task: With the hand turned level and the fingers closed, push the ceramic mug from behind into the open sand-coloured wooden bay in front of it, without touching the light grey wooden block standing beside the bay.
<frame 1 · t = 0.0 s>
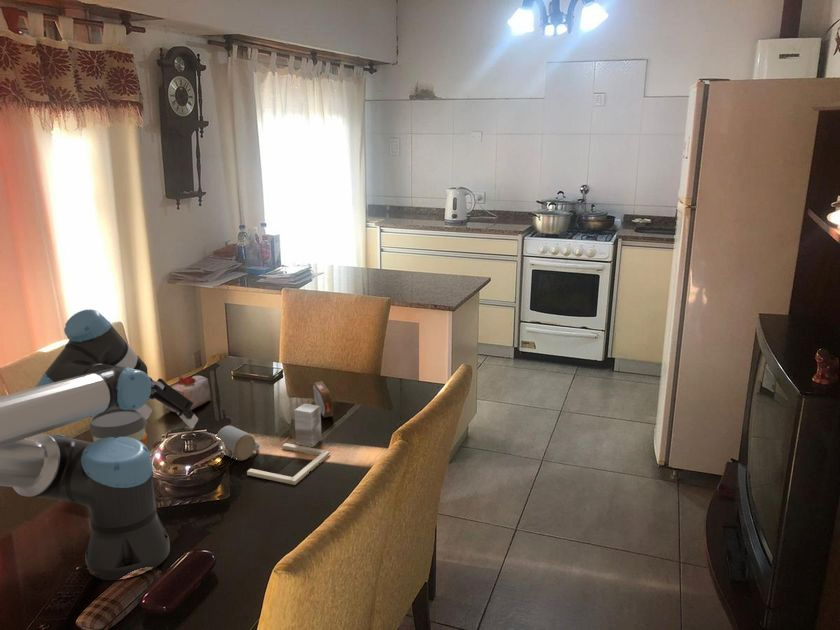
hand: (171, 419, 158), 15 cm above the table, tool tilted 35°, fingers open, 13 cm apart
reusable coffee cup: (124, 474, 164), on the table
tin: (323, 412, 202), on the table
grey block: (308, 442, 181), on the table
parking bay: (285, 463, 169), on the table
ceramic mug: (239, 455, 175), on the table
food item: (189, 408, 205), on the table
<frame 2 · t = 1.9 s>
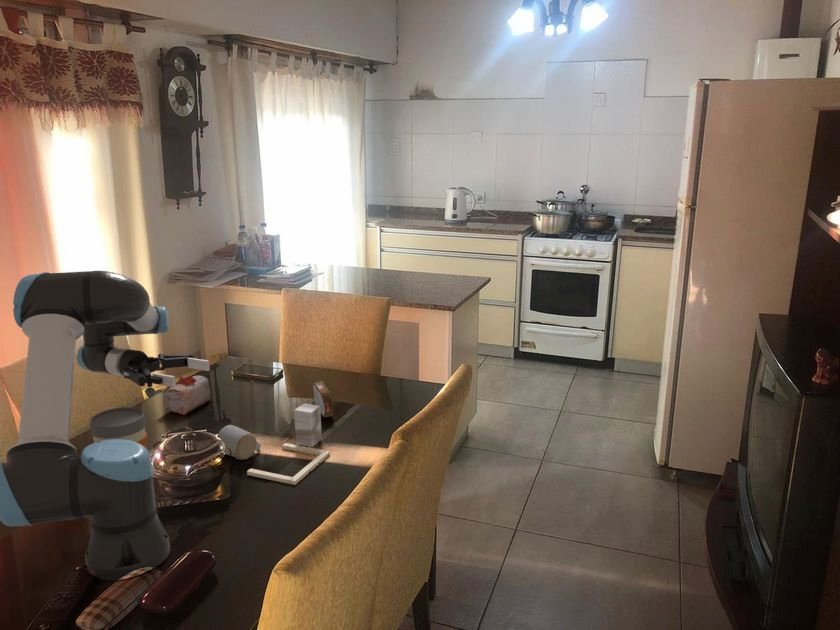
hand: (191, 373, 174), 21 cm above the table, tool horizontal, fingers open, 12 cm apart
nothing on the table moved.
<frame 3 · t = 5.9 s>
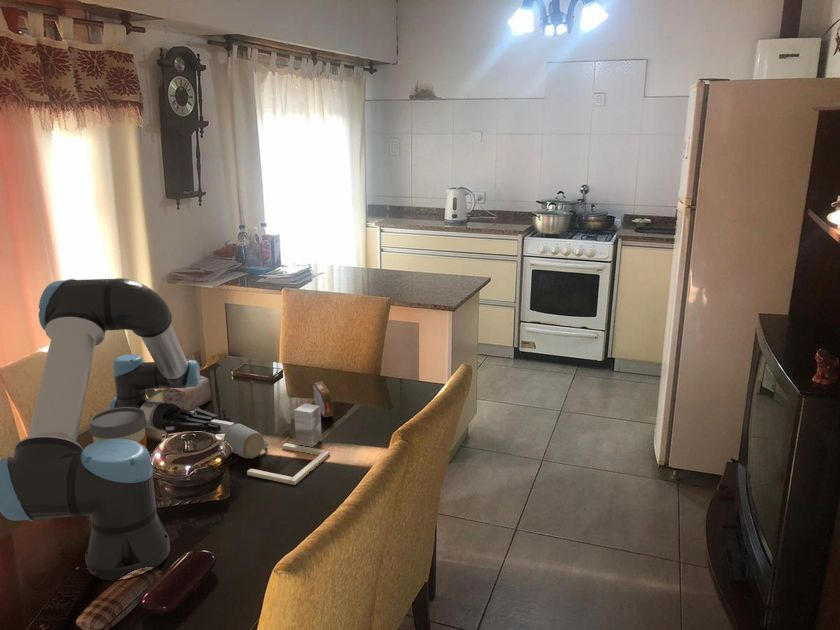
hand: (232, 428, 175), 6 cm above the table, tool horizontal, fingers closed
ceramic mug: (248, 453, 175), on the table, touching gripper
everything else where it was.
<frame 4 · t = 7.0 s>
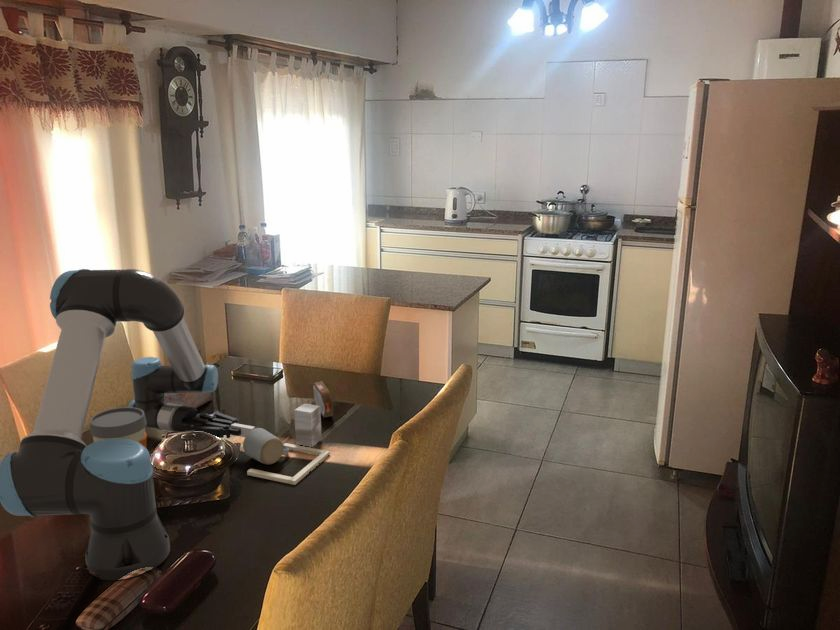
hand: (253, 432, 172), 6 cm above the table, tool horizontal, fingers closed
ceramic mug: (268, 458, 172), on the table, touching gripper
everything else where it was.
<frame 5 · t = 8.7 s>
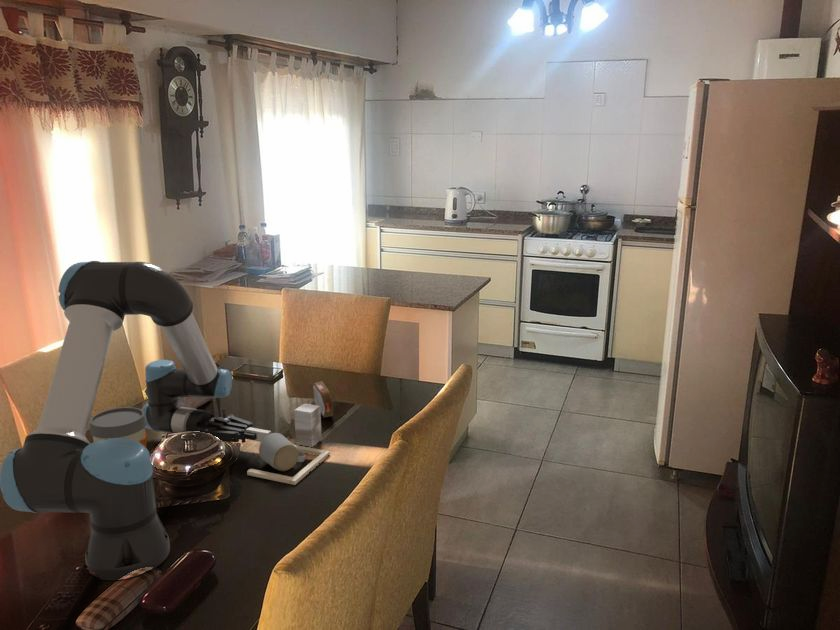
hand: (269, 437, 169), 7 cm above the table, tool horizontal, fingers closed
ceramic mug: (284, 465, 169), on the table, touching gripper
everything else where it was.
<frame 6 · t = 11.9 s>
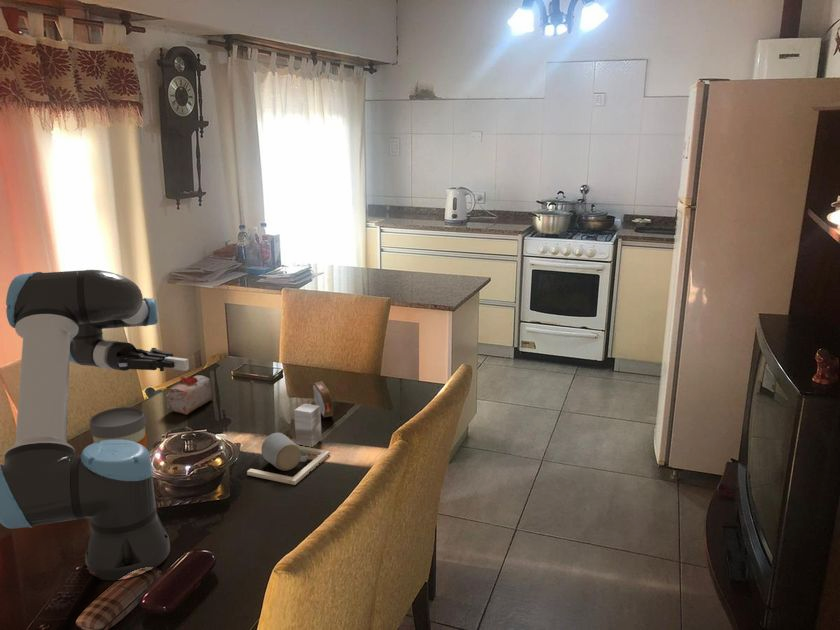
hand: (186, 364, 171), 24 cm above the table, tool horizontal, fingers closed
ceramic mug: (286, 464, 170), on the table
everything else where it was.
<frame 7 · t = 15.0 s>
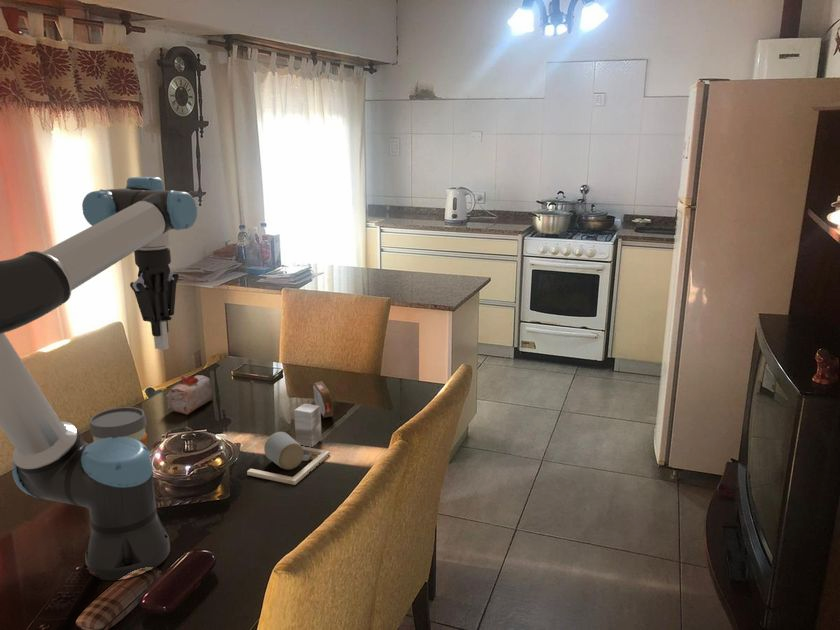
hand: (162, 348, 156), 32 cm above the table, tool pointing down, fingers closed
nothing on the table moved.
at the end: ceramic mug inside the target area (1.0 cm from its centre), on the table; ceramic mug tilted 0°; grey block moved 0.0 cm from its start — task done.
